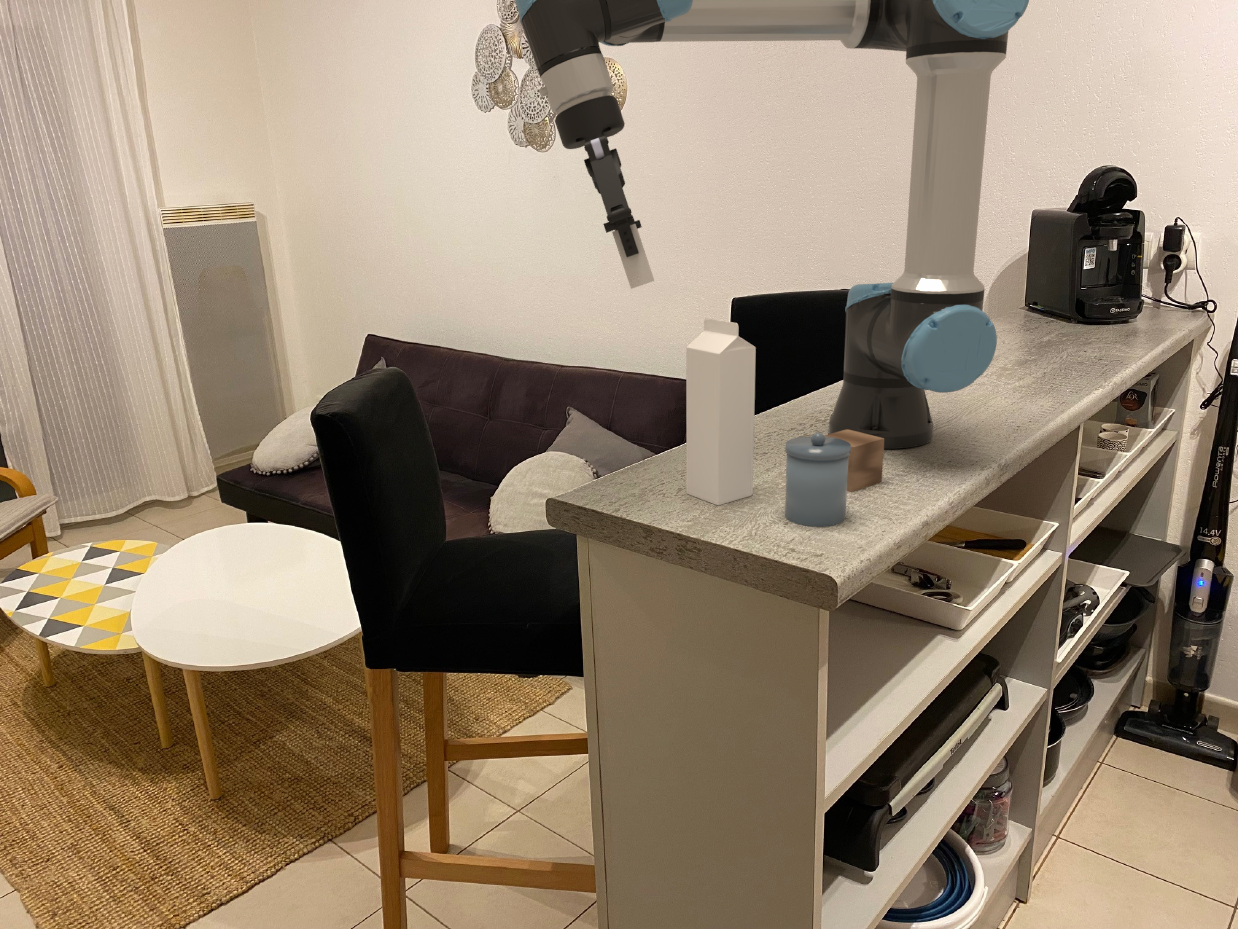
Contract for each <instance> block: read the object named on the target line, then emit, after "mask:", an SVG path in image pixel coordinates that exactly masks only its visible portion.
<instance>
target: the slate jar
mask: <svg viewBox="0 0 1238 929" xmlns="http://www.w3.org/2000/svg"><path fill="white" fill-rule="evenodd" d="M824 435H825V434H823V433H821V432H815V433H814V434H812V435H806V436H805V435H804V436H797V437H793V438H790V439H788V440H786V442H785V446H784V452H785V453H786V470H785V497H784V498H785V501H784V502H785V503H784V517H785V519H786V520H788V521H789V522H791V523H793V524H796V525H800V526H804V527H810V528H811V527H812V528H827V527H835V526H837V525H840V524H842V523H844V522H845V520H846V517H847V516H846V514H847V497H848V496H847V494H848V491H847V478H848V459H849V455H850V453H851V445H850V443H848V442H847V441H845V440H842V439H838V438H833V437H826V436H824Z"/></svg>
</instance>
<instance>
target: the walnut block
mask: <svg viewBox="0 0 1238 929" xmlns="http://www.w3.org/2000/svg"><path fill="white" fill-rule="evenodd" d="M823 435H824V436H826V437H833V438H838V439H842V440H845V441H847V442H848V443H850V445H851V453H850V455H849V459H848V478H847V492H849V493H853V492H856V491H859V490H862V489H866V488H869V487H871V486H875V485H877V484H881V483H883V482H882V480H883V465H884V451H885V449H884V438H881V437H877V436H873V435H869V434H865V433H860V432H856V431H852V430H848V429H846V430H843V431H839V432H835V433H832V434H829V433H828V434H823Z"/></svg>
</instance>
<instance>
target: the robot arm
mask: <svg viewBox="0 0 1238 929" xmlns="http://www.w3.org/2000/svg"><path fill="white" fill-rule="evenodd" d="M514 2H515V5H516V9H517V12H518V15H519V23H520V25H521V27H522V29H523V32H524V36H525V38H526V40H527V41H526V42H527V44H528V46H529V49H530V52H531V55H532V58H533V61H534V63H535V66H536V69H537V72H538V76H539V78H540V80H541V83H542V85H544V86H543V87H540V88H539V92H538V93H539V96H541V97H546V96H547V101H548V104H549V107H550V110H551V112H553V113H554V114H556V116H555V119H554V123H555V126H556V130H557V132H558V135H559V138H560V141H561V144H562V147H564V148H565V149H567V150H575V149H576V150H577V149H580V148H583V147H584V150H585V153H586V152H587V155H588V157H587V158H585V159H583V161H584V165H585V168H586V170H587V173H588V175H589V176H590V178H591V180H592V183H593V185H594V189H595V190H597V193H598V194H599V195H600V197H601V199H602V203H603V206H604V209H605V213H606V219H607V222H605V223H603V224H602V225H603V227H604V230H605V233H610V232H611V233H612V237H613V239H614V242H615V245H616V248H617V251H618V254H619V256H620V260H621V263H622V266H623V269H624V272H625V274H626V278H627V280H628V283H629V287H630V289H631V290H632V289H635V288H637V287H640V286H643V285H646V284H650V283H652V282H655V278H654V275H653V273H652V269H651V266H650V263H649V260H648V258H647V254H646V251H645V248H644V245H643V242H642V239H641V236H640V233H639V230H638V229H641V228H643V226H642V224H641V220H640V219H638V220H635V218H634V216H633V214H632V209H631V208H630V207H629V203H628V201H627V197H626V194H625V191H624V186H626V185H625V184H626V181H625V178H624V175H623V172H622V169H621V167H622V161H621V158H620V155H619V152H618V149H617V148H612V149H610V147H609V143H610V142H609V139H608V138H609V137H614V136H616V135H617V134H619V133H620V132H622V131H623V129H624V128H625V120H624V116H623V115H622V111H621V107H620V105H619V101H618V99H617V97H615V96H614V95H611V94H612V93H613V92H614V88H615V87H614V85H613V82H612V78H611V76H610V73H609V70H608V66H607V63H606V60H605V57H604V55H603V52H602V50H601V48H600V44H602V45H604V46H609V47H623V46H625V45H627V44H629V43H630V44H632V43H633V44H635V43H662V42H666V43H668V42H669V43H670V42H671V43H673V42H675V43H676V42H680V43H683V42H778V41H779V42H780V41H781V42H782V41H784V42H785V41H787V42H789V41H790V42H791V41H793V42H794V41H795V42H796V41H798V42H799V41H805V42H806V41H810V42H811V41H813V42H814V41H840V42H841V43H842V46H844V47H845V48H846V49H856V50H857V49H861V50H862V49H864V50H865V49H868V50H871V49H872V50H884V51H893V52H894V51H897V52H905V64H906V65H907V67H908V68H909V69H910V70H911V71H912V72H913V73H914V74H915V75H916V78H917V79H916V88H915V89H916V90H915V91H916V92H915V104H914V105H915V106H914V107H915V108H914V123H913V124H914V125H913V136H912V151H911V152H912V154H911V166H910V168H911V169H910V182H909V183H910V184H909V196H908V211H907V226H906V227H907V228H906V242H905V254H904V255H905V256H904V257H905V258H904V271H903V273H902V274H901V276H899V277H898V278H897V279H896V280H895V281H894V282H883V283H881V282H880V283H879V282H878V283H862V284H861V283H859V284H855V285H853V286H852V287H850V289H849V290H848V293H847V299H846V300H847V301H846V306H845V310H844V311H845V333H844V353H843V354H844V356H843V357H844V358H843V379H842V387H841V389H840V392H839V395H838V397H837V399H836V403H835V405H834V409H833V412H832V414H831V415H830V418H829V421H828V422H829V428H828V434H832V433H835V432H839V431H843V430H846V429H848V430H852V431H856V432H860V433H865V434H869V435H873V436H877V437H881V438H884V450H885V449H886V450H887V449H888V450H889V449H896V450H897V449H907V448H916V447H920V446H924V445H925V444H928V443H930V442H931V441H932V440H933V435H934V434H933V433H934V422H933V419H932V417H931V411H930V407H929V403H928V399H927V395H926V391H931V392H934V393H942V394H943V393H952V392H953V393H954V392H956V391H960V390H963V389H965V388H967V387H968V386H970V385H972V384H974V383H975V381H976V380H977V379H978V378H980V377H981V376H982V375H984V373H985V372H986V371H987V369H989V367H990V365H991V363H992V361H993V360H994V356H995V353H996V350H997V343H998V336H997V331H996V330H997V329H996V327H995V324H994V323H993V321H992V320H991V318H990V317H989V316H988V314H987V313H986V311H983V310H984V309H983V308H984V300H985V285H984V284H983V283H982V281H981V280H979V278H978V277H977V276H976V275H975V272H974V269H975V261H976V260H975V259H976V257H975V256H976V250H977V249H976V247H977V238H978V237H977V236H978V224H979V215H980V214H979V213H980V203H981V202H980V201H981V194H982V193H981V191H982V182H983V181H982V180H983V179H982V178H983V169H984V168H983V167H984V158H985V157H984V156H985V148H986V147H985V146H986V135H987V133H986V132H987V122H988V112H989V98H990V92H991V91H990V88H991V79H992V78H991V77H992V74H993V71H994V70H996V69H997V67H998V66H999V65H1001V63H1002V62H1004V60H1005V59H1007V48H1008V38H1009V31H1010V30H1011V28H1013V27H1014V26H1015V25H1016V24H1017V23H1018V21H1019V19H1020V18H1022V17H1023V15H1024V14H1025V12H1026V9H1027V8H1028V5H1029V2H1030V0H514ZM599 43H600V44H599Z"/></svg>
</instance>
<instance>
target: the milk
mask: <svg viewBox="0 0 1238 929" xmlns="http://www.w3.org/2000/svg"><path fill="white" fill-rule="evenodd" d="M703 324H704V325H703V331H702V332H701V333H699V334H698V336H696V337H695V338H694V339H693V340H692V341H691V342H690V343H689V344H688V345H687V346H686V350H685V351H686V352H685V353H686V354H685V355H686V357H685V359H686V363H685V364H686V367H685V368H686V369H685V370H686V371H685V372H686V384H685V385H686V387H685V388H686V392H685V393H686V395H685V396H686V401H685V402H686V406H685V407H686V411H685V412H686V416H685V417H686V420H685V421H686V494H687V495H690V496H692V497H695V498H698V499H700V500H702V501H705V502H708V503H711V504H713V505H715V506H721V505H724V504H725V505H726V504H728V503H731V502H735V501H738V500H741V499H745V498H748V497H751V496H753V494H754V492H753V491H754V451H755V450H754V448H755V445H754V444H755V442H754V441H755V400H756V353H757V352H756V349H757V347H756V346H754V345H753V344H751V343H750V342H748V341H747V340H745V339H744V338H742V337H740V336H739V332H740V331H739V324H738V323H737V322H732V321H726V320H719V319H713V318H707V317H706V318H704V319H703Z"/></svg>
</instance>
